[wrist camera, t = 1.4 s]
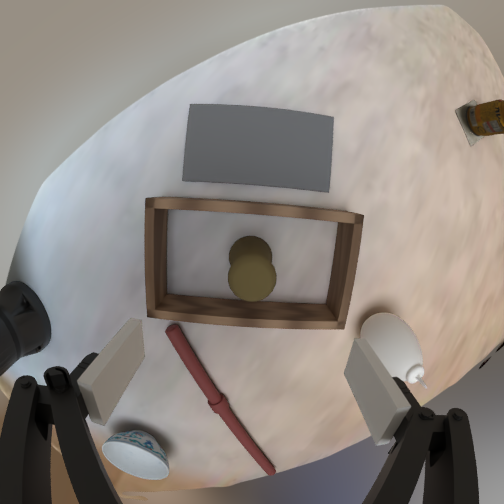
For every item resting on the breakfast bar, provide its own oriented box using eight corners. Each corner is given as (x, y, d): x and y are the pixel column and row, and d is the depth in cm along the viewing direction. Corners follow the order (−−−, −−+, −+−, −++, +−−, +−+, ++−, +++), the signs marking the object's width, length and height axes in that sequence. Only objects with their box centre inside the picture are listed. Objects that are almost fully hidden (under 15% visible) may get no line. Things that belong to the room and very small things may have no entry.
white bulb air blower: (344, 318, 41) (394, 387, 24) (384, 293, 40) (449, 348, 23) (358, 351, 43) (403, 421, 25) (396, 328, 42) (452, 387, 24)
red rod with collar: (165, 325, 41) (159, 335, 38) (181, 319, 41) (177, 329, 38) (265, 468, 50) (265, 478, 47) (277, 465, 50) (278, 475, 47)
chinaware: (112, 408, 45) (100, 432, 37) (179, 432, 46) (173, 459, 39) (113, 442, 48) (103, 463, 40) (170, 462, 49) (165, 485, 42)
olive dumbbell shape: (242, 228, 38) (240, 242, 27) (280, 249, 38) (293, 271, 28) (221, 265, 39) (212, 293, 28) (258, 285, 39) (263, 319, 29)
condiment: (488, 132, 34) (530, 128, 23) (470, 146, 35) (515, 142, 23) (474, 99, 33) (514, 88, 21) (454, 110, 34) (497, 98, 22)
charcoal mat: (183, 180, 36) (182, 180, 35) (190, 105, 34) (189, 104, 33) (327, 192, 37) (329, 192, 36) (332, 118, 34) (333, 117, 34)
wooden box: (159, 300, 40) (147, 317, 34) (160, 196, 36) (145, 198, 31) (332, 311, 41) (344, 329, 35) (347, 211, 37) (363, 215, 32)
